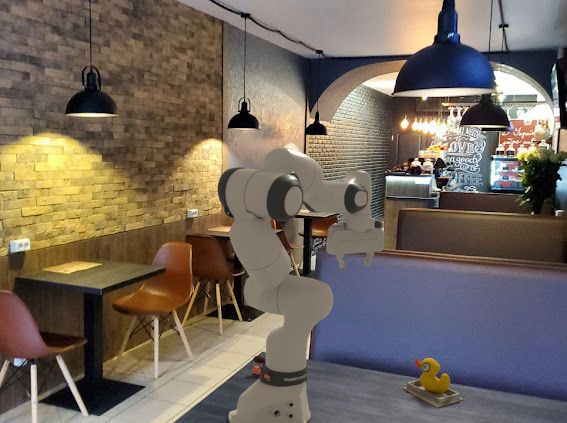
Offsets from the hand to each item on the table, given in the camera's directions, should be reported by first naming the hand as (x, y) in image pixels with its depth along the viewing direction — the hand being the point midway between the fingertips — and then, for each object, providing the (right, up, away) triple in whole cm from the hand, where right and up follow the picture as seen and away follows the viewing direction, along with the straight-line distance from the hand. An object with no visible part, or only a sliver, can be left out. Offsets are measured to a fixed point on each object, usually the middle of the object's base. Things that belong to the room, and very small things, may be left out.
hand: (354, 267), depth 173 cm
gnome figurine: (-25, -36, +8) cm, 45 cm away
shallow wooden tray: (+23, -38, -4) cm, 45 cm away
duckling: (+23, -38, -3) cm, 44 cm away
